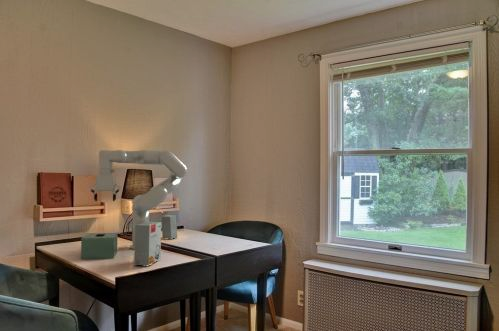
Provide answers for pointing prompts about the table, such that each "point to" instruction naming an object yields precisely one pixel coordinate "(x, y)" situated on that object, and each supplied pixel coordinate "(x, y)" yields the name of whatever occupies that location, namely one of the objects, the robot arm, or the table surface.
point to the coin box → (99, 246)
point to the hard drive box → (147, 243)
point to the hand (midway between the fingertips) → (105, 201)
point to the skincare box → (169, 226)
